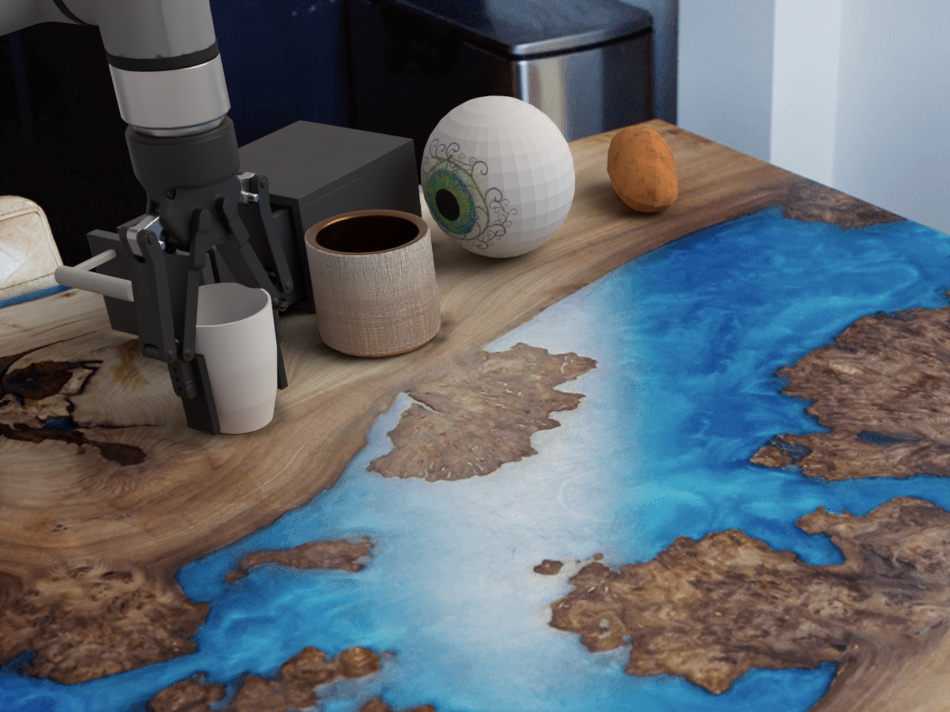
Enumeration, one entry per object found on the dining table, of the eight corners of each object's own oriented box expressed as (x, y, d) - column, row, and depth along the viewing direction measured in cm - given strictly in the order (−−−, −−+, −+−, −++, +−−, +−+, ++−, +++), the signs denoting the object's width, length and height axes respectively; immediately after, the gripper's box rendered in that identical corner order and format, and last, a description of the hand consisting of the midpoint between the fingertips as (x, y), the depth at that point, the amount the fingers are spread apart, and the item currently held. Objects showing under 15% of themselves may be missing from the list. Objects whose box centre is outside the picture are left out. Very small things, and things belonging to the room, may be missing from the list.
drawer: (170, 387, 118) (145, 286, 112) (59, 358, 122) (29, 259, 117) (337, 286, 134) (323, 193, 128) (233, 263, 138) (215, 172, 133)
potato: (661, 177, 159) (670, 115, 154) (681, 229, 150) (692, 164, 145) (598, 174, 157) (605, 110, 153) (615, 225, 148) (623, 160, 144)
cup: (218, 391, 119) (192, 279, 113) (308, 400, 118) (287, 286, 112) (173, 438, 113) (143, 322, 107) (267, 447, 111) (243, 330, 105)
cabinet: (317, 313, 131) (297, 198, 125) (202, 287, 136) (177, 175, 130) (425, 246, 144) (413, 138, 137) (316, 224, 149) (299, 119, 142)
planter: (458, 314, 131) (448, 212, 125) (417, 366, 122) (403, 260, 116) (349, 304, 133) (333, 204, 127) (300, 355, 124) (281, 250, 118)
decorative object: (399, 252, 142) (380, 99, 133) (514, 213, 150) (503, 66, 141) (493, 296, 134) (479, 135, 125) (609, 251, 142) (604, 98, 133)
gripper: (231, 74, 109) (283, 346, 123) (29, 156, 95) (113, 453, 109) (309, 87, 106) (353, 363, 120) (113, 172, 92) (188, 475, 106)
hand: (239, 406), depth 115 cm, fingers closed on cup, 8 cm apart
